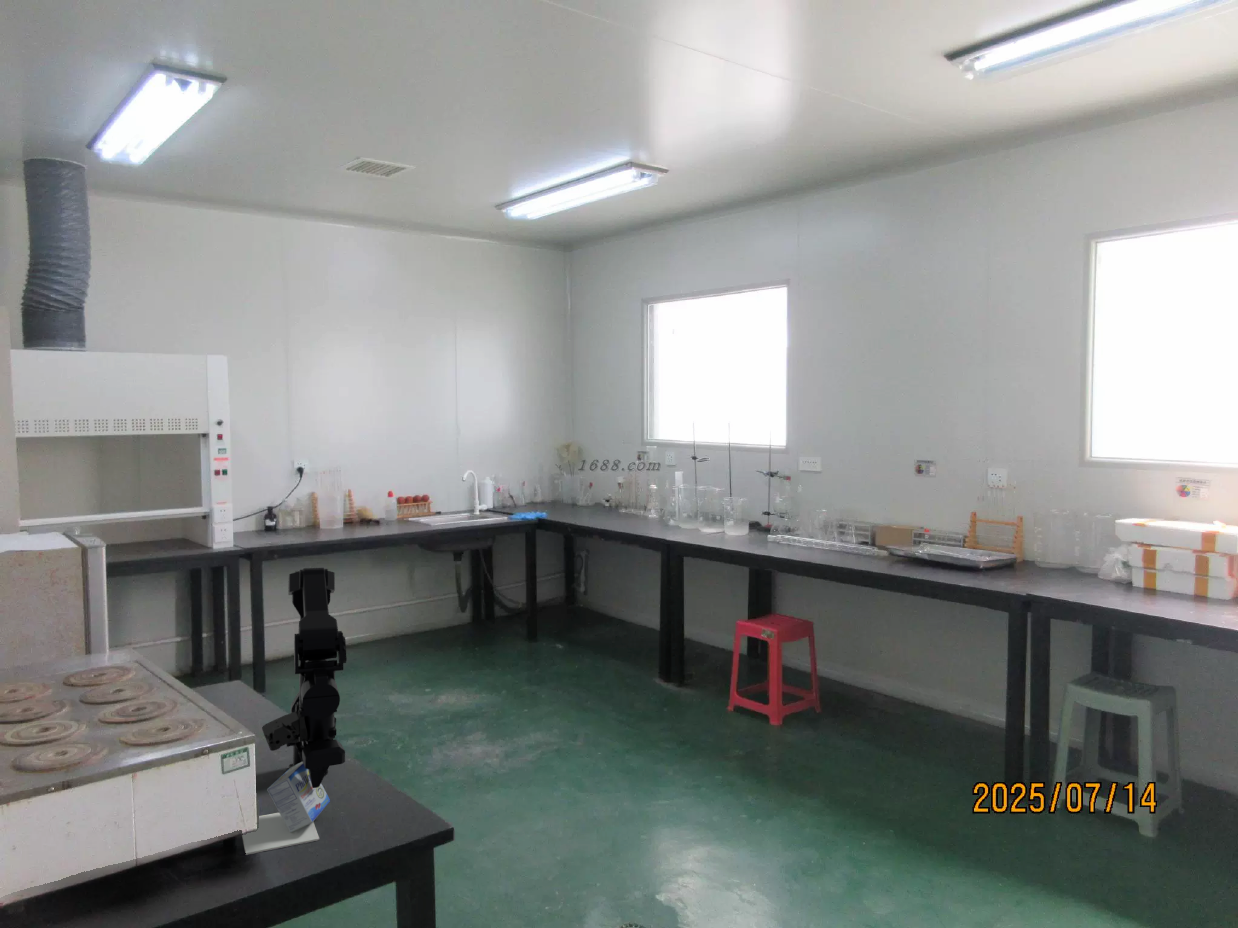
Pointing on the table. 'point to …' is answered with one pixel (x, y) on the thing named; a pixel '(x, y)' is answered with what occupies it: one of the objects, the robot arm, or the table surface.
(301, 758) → the robot arm
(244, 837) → the mat
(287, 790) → the medicine box
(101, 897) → the table surface
